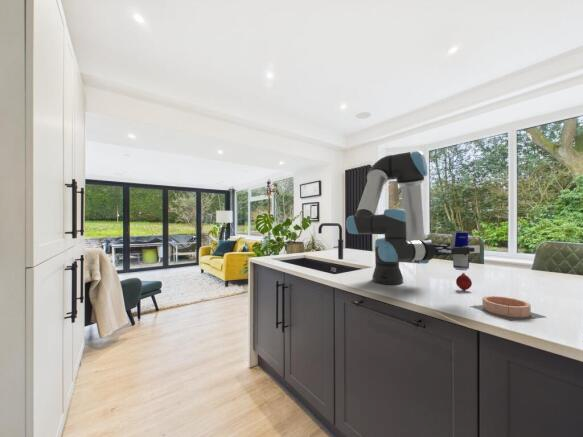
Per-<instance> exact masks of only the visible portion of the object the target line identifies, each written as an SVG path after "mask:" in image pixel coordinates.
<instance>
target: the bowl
mask: <svg viewBox="0 0 583 437" xmlns="http://www.w3.org/2000/svg"><path fill="white" fill-rule="evenodd" d="M482 305H483V308H484V310H486V311H488V312H490V313H493V314H497V315H501V316H506V317H513V318H527V317H530V313H531V312H532V308H531V306H532V305H531V303H529V302H527V301H524V300H521V299H517V298H512V297H508V296H507V297H506V296H499V295H498V296H497V295H496V296H495V295H488V296H483V297H482Z"/></svg>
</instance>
